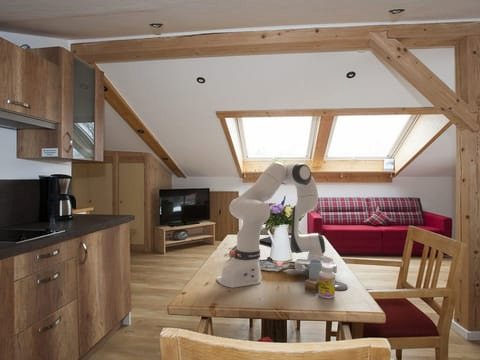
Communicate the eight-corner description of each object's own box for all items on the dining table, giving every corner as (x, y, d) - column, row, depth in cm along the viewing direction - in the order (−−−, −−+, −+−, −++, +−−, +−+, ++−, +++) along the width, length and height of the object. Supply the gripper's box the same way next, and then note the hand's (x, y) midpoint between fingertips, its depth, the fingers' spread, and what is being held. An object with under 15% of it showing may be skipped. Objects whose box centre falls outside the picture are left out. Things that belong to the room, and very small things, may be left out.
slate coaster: (338, 292, 133) (338, 291, 133) (320, 285, 141) (320, 283, 141) (352, 287, 139) (352, 286, 138) (333, 280, 147) (334, 279, 147)
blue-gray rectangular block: (308, 283, 143) (309, 262, 142) (309, 279, 148) (309, 259, 148) (321, 284, 141) (321, 263, 141) (321, 280, 147) (321, 260, 146)
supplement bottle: (315, 295, 129) (316, 265, 129) (323, 291, 134) (324, 262, 133) (329, 300, 124) (330, 269, 124) (337, 296, 129) (338, 266, 128)
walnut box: (314, 292, 132) (314, 283, 132) (304, 289, 136) (305, 280, 135) (320, 289, 136) (320, 280, 135) (310, 286, 139) (311, 277, 139)
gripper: (295, 254, 160) (293, 262, 147) (335, 258, 155) (337, 266, 141) (295, 266, 160) (293, 275, 147) (335, 270, 155) (337, 279, 142)
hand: (315, 271), depth 144 cm, fingers open, 8 cm apart
